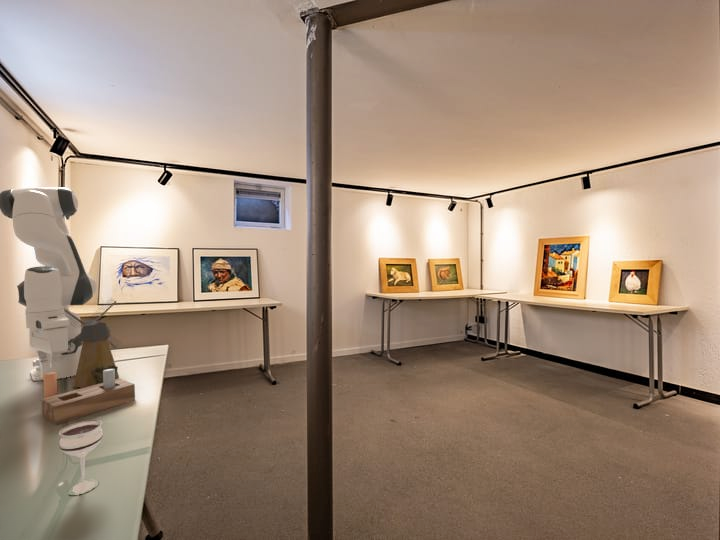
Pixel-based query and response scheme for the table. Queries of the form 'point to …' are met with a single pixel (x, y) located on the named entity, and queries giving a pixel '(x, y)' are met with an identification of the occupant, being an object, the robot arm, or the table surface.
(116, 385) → the peg block
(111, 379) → the seated peg
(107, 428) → the table surface
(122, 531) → the table surface
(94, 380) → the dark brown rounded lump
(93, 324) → the windmill
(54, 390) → the peg
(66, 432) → the wineglass
